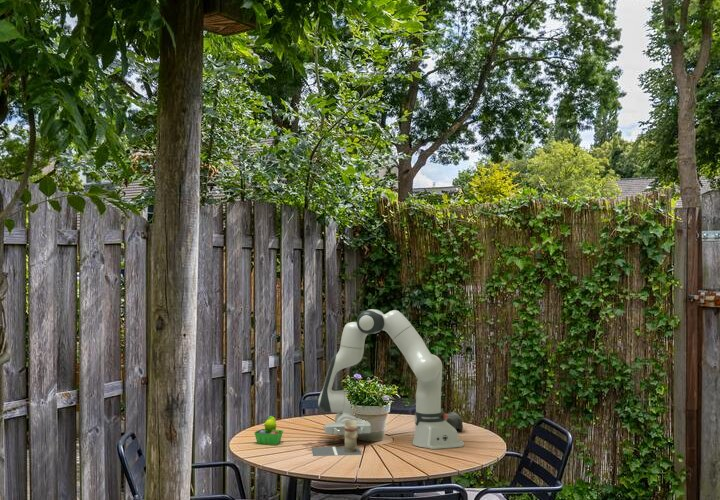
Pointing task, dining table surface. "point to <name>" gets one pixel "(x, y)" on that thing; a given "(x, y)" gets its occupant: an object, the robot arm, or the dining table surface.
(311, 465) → the dining table surface
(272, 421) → the fruit basket
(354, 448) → the skittle
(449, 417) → the rock
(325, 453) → the lane mat
